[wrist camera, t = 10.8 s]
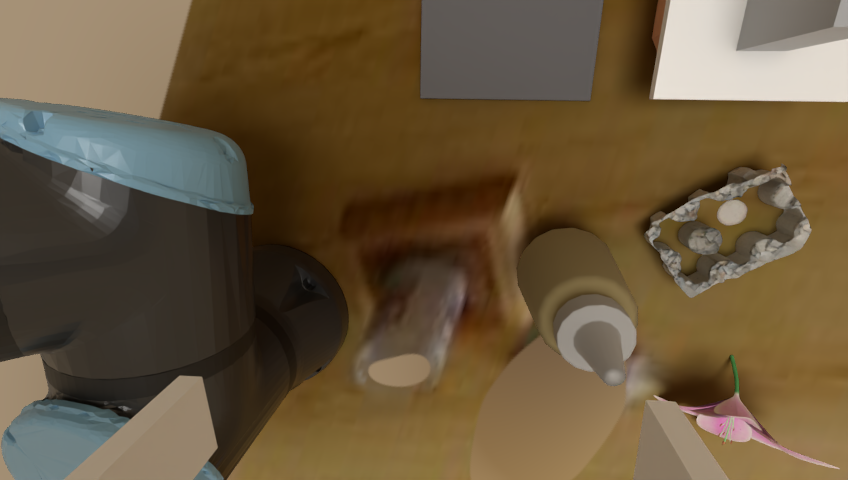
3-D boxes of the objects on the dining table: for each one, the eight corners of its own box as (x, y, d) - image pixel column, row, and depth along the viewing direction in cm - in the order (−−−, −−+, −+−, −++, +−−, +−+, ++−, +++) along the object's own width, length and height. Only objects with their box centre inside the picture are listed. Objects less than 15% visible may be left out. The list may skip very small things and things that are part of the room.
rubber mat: (421, 98, 36) (420, 98, 35) (424, -94, 32) (423, -97, 31) (588, 100, 34) (590, 100, 33) (615, -104, 30) (617, -108, 29)
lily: (625, 340, 41) (634, 440, 35) (770, 312, 33) (815, 433, 27) (677, 395, 46) (693, 491, 39) (814, 381, 38) (861, 497, 32)
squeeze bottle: (612, 286, 38) (711, 426, 21) (526, 306, 40) (554, 449, 23) (593, 205, 36) (684, 288, 19) (503, 230, 38) (516, 326, 21)
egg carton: (758, 152, 34) (793, 157, 30) (793, 229, 35) (831, 243, 31) (631, 217, 37) (648, 229, 33) (668, 286, 38) (688, 305, 34)
